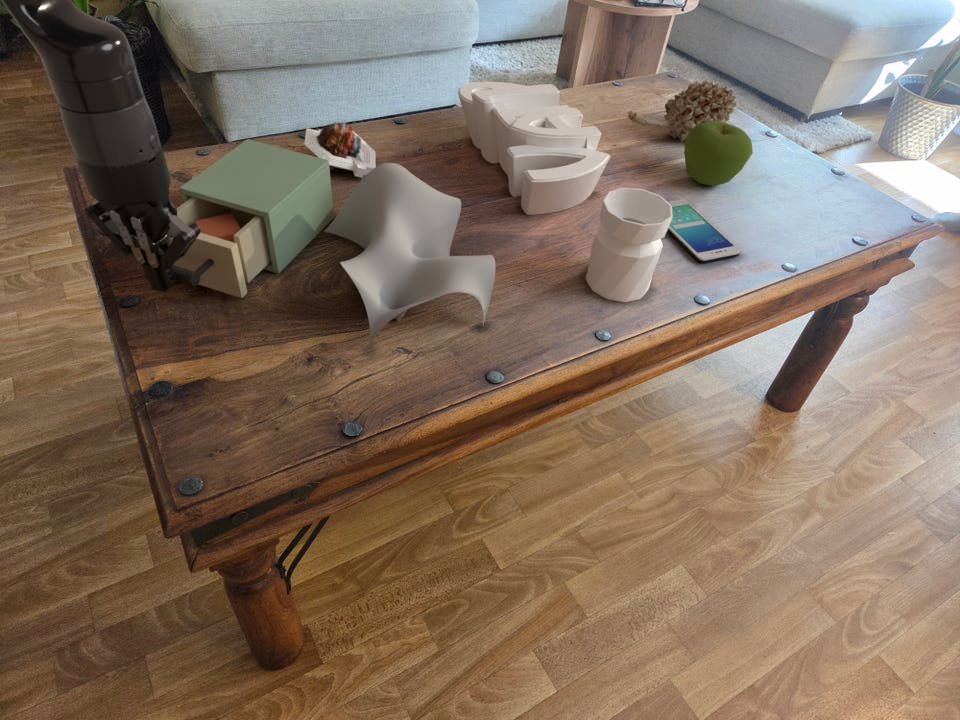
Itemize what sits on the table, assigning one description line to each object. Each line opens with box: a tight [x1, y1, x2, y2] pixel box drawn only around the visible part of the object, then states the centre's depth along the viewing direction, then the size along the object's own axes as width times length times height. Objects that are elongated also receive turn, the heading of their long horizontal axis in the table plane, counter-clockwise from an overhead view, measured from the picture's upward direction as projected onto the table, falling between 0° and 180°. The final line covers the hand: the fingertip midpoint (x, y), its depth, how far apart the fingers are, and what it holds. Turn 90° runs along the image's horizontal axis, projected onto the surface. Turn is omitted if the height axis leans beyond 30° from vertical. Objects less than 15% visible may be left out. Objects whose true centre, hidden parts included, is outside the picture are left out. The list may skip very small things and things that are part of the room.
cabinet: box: [179, 138, 335, 275], centre depth 88 cm, size 15×13×9 cm
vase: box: [585, 187, 673, 303], centre depth 85 cm, size 9×9×12 cm
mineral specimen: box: [304, 121, 377, 179], centre depth 104 cm, size 12×12×7 cm
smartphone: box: [666, 198, 741, 264], centre depth 100 cm, size 8×1×15 cm
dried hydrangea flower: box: [625, 80, 737, 142], centre depth 119 cm, size 22×10×10 cm, turn 115°
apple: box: [683, 121, 754, 187], centre depth 108 cm, size 11×10×10 cm
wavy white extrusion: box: [457, 81, 612, 216], centre depth 106 cm, size 35×16×10 cm, turn 18°
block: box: [195, 213, 240, 243], centre depth 82 cm, size 4×4×4 cm
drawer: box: [159, 197, 271, 299], centre depth 81 cm, size 18×11×7 cm, turn 160°
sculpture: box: [323, 162, 496, 349], centre depth 84 cm, size 25×19×10 cm
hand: (164, 286), depth 74 cm, fingers closed
